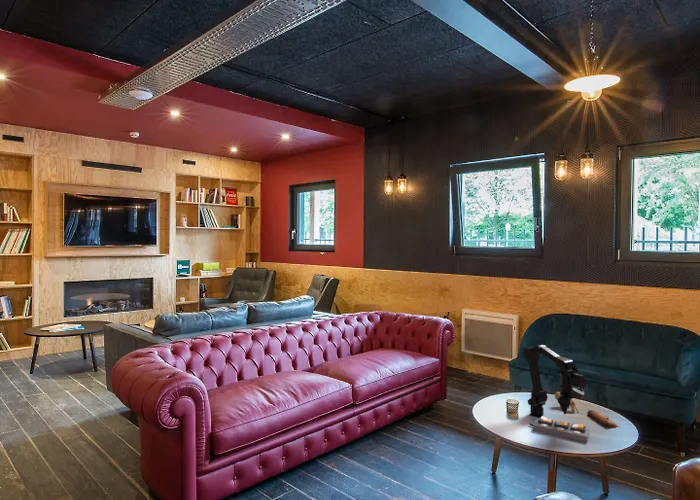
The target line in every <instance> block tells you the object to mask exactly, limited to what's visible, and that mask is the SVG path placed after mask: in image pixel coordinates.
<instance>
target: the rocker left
mask: <svg viewBox="0 0 700 500" xmlns="http://www.w3.org/2000/svg"><path fill="white" fill-rule="evenodd" d="M539 419H540V418H539ZM540 420H541V421H544V422H548V423H551V422H552V420H553V419H550V418H548V417H546V416H544V415H543V416H542V417H541V419H540Z"/></svg>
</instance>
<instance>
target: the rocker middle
mask: <svg viewBox="0 0 700 500" xmlns="http://www.w3.org/2000/svg"><path fill="white" fill-rule="evenodd" d="M556 421H557V422H556V424H558V425H563V426H567V425H568V423H569V422H566V421H563V420H560V419H557V420H556Z"/></svg>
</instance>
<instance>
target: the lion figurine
mask: <svg viewBox="0 0 700 500" xmlns="http://www.w3.org/2000/svg"><path fill="white" fill-rule="evenodd" d="M560 392H561V391H556V392H555V394H554V399H556V400H557V401H558V397H559V396H560ZM561 396H562V395H561ZM559 408H560V409H561V406H560V407H559ZM569 408H571V410H572V413H575V411H576V412H577V413H579V412H580V411H579V410H578V409H577V407H576V403H575V401H574V400H573V398H572V399H571V404H570V406H569Z"/></svg>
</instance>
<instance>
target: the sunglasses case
mask: <svg viewBox="0 0 700 500" xmlns="http://www.w3.org/2000/svg"><path fill="white" fill-rule="evenodd" d="M587 416H589V417H591V418H592V419H594V420H595V421H597V422H598V423H600V425H603V426H604V427H606V429H615V428H616V427H618V428H620V426H619V425H618V424H617V423H616V422H614V421H613V420H611V419H610V417H608V416H607V415H606V414H603V413H601V412H599V411H596V410H592V409H589V410H588V411H587Z"/></svg>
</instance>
